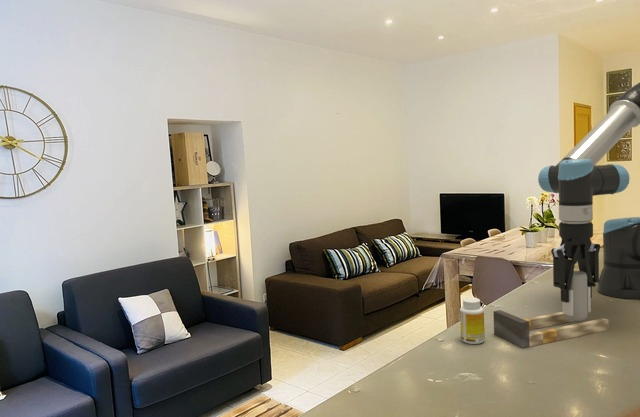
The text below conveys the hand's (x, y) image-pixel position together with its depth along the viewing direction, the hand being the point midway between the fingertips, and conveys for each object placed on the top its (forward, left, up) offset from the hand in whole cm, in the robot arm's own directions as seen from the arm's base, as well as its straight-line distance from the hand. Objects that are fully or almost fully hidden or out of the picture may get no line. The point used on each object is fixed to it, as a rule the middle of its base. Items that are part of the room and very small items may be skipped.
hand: (576, 312), depth 123 cm
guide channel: (+7, 0, -4) cm, 8 cm away
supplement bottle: (+28, -4, -4) cm, 29 cm away
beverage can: (0, 0, -2) cm, 2 cm away
